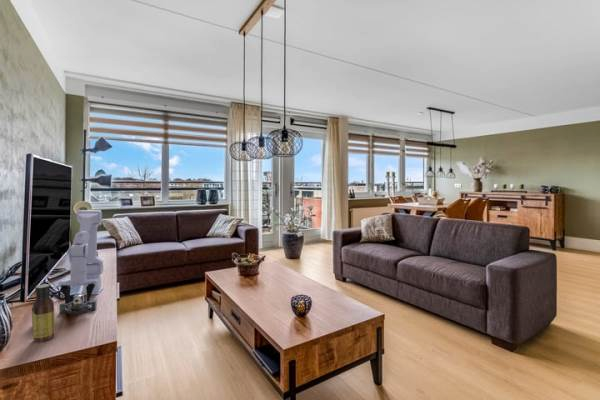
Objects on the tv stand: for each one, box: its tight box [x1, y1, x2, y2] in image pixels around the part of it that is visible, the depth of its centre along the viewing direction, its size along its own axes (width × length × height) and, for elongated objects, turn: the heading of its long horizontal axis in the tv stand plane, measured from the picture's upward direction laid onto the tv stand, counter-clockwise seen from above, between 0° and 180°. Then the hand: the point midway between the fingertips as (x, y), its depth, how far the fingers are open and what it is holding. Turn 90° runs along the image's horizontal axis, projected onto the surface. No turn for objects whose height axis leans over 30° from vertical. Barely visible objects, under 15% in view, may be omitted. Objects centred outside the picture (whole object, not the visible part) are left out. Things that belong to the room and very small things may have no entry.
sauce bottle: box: [31, 283, 56, 343], centre depth 111 cm, size 7×6×20 cm
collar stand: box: [58, 298, 98, 316], centre depth 136 cm, size 8×14×4 cm, turn 109°
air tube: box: [72, 293, 85, 311], centre depth 135 cm, size 4×4×7 cm
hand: (78, 301), depth 135 cm, fingers open, 7 cm apart
